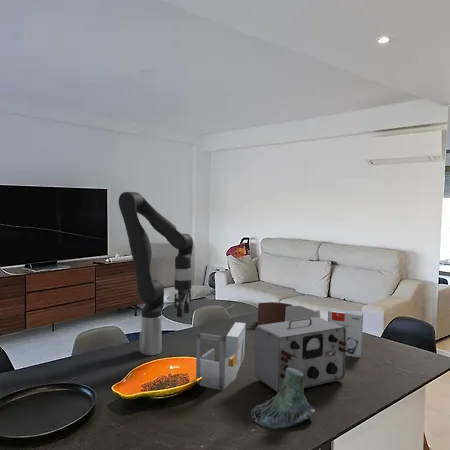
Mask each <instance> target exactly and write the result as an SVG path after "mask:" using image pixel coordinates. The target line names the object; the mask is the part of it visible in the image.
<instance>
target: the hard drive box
mask: <svg viewBox="0 0 450 450" xmlns="http://www.w3.org/2000/svg"><path fill="white" fill-rule="evenodd" d="M327 321H329V322H332V323H335V324H337V325H340V326H343V327H345V328H346V352H345V357H346V356H347V357H350V356H352V358H358V357H359V358H358V359H360V358H361V356H362V353H361V352H362V349H363V346H362V345H363V328H364V327H363V325H364V311H360V310H354V309H353V310H351V309H344V308H343V309H342V308H335V307H334V308H333V307H330V308H329V310H327Z"/></svg>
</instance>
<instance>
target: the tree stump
mask: <svg viewBox="0 0 450 450" xmlns="http://www.w3.org/2000/svg"><path fill="white" fill-rule="evenodd" d="M303 384H304V375H303V373H302V372H300V371H298V370H296V369H293V368H286V374H285V378H284V381H283V385H282V389H281V390H280V391H279V392H277V393H276V394H275V396H272V398H271V399H268V400H266V401H265V402H263V403H261V404H259V403H258V405H255V407H254V408H252V410H250V416H251V419H252V420H253V422H254V423H256V424H258V425H260V426H262V427H265V428H268V429H272V430H283V429H288V428H291V427H295V426H297V425H299V424H301V423H304V421H306V420H308V419H310V418H311V417H312V416H313V414H315V411H316V409H314V406H313V405H311V403H309V402H308V399H307V398H306V396H305V394H304V393H305V392H304V390H305V388H304V385H303Z"/></svg>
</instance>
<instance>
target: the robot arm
mask: <svg viewBox="0 0 450 450" xmlns="http://www.w3.org/2000/svg"><path fill="white" fill-rule="evenodd" d="M118 207H119V210H120V213H121V216H122V219H123V223H124V225H125V226H124V227H125V231H126V236H127V239H128V243H129V248H130V254H131V257H132V261H133V267H134V271H135V277H136V285H137V293H138V297H139V299H140V300H141V301H142V302H144V303H145V305H144V306H143V307H142V309H141V313H140V314H141V319H140V321H141V325H140V326H141V327H140V328H141V329H140V330H141V331H139V353H141V354H142V355H144V356H156V354H157V355H159V354H161V353H162V348H163V347H162V344H163V343H162V339H163V338H162V336H163V335H162V333H163V332H162V331H163V329H162V326H163V325H162V324H163V323H162V319H163V316H162V313H163V310H164V303H165V300H164V299H165V289H164V285H163V284H162V282H161V281H160V280H159V279H158V280H157V279H153V278H152V275H151V261H152V255H153V254H152V253H153V251H152V245H151V241H150V238H149V235H148V233H147V231H146V229H144V227H143V226H142V224H141V222H140V219H139V216H138V214H140V215H141V216H143V218H145V219H146V220H147V222H148V223H149V224H150V226H151V227H152V228H153V229H154V230H155V231H156V233H158V234H160V235H161V236H162V237H164V239H166V240H167V242H168V243H169V244H170V245H171V246H172V247H173V248H175V249H176V250H178V252H177V255H176V256H175V259H174V290H176V291H177V293H174V308H175V309H176V317H177V318H183V313H184V314H189V312H190V304H191V303H192V256H193V255H192V254H193V249H194V241H193V237H192V235H190V234H188V233H182V232H180V231H179V230H178V229H177V227H176V225H175V224H174V223H172V222H171V221H170V220H168V219H167V218H166V217H165V216H164V215H162V214H160V213H159V212H158V211H157V210H156V209H155V208H154V207H153V206H152V205H151V204H150V203H149V202H148V201H147V199H146V198H145V197H144V196H143V195H142V194H141V193H139V192H137V191H136V192H135V191H124V192H122V193H121V194H120V195H119V198H118Z"/></svg>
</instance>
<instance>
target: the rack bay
mask: <svg viewBox="0 0 450 450" xmlns="http://www.w3.org/2000/svg"><path fill="white" fill-rule="evenodd" d="M203 340H209V341H210V340H211V341H214V342H219V353H218V354H219V357H218V358H219V359H218V360H219V361H216V357H215V356H216V349H215V348H211V349H210V350H208V351H206V352H205V353H204V354H203ZM195 342H196V349H195V350H196V351H195V352H196V353H195V354H196V356H195V358H196V359H195V363H196V365H195V368H196V369H195V380H196V379H197V378H200V377H202V380H201V381H200V382H199V385H200V386H201V387H205V388H210V389H214V390H219V391H224V390H226V389H227V387H228V386H229V385H230V384H231V383H232V382H233V381H234V380H236V378H237V374H236V373H238V371H237V353H235V352H234V353H233V354H231V355H230V356H229V357H228V358H226V359H225V356H226V336H224V335H218V334H211V333H205V332H199V331H198V332H196V340H195ZM200 386H199V387H200Z"/></svg>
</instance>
